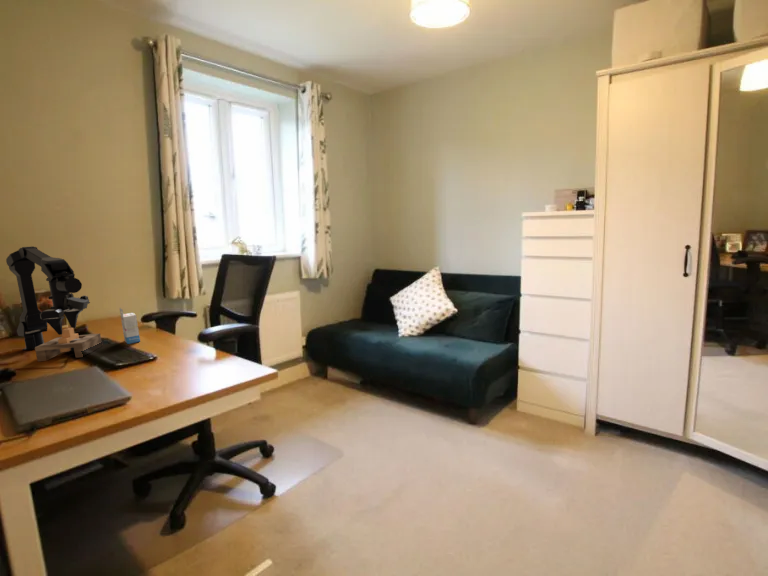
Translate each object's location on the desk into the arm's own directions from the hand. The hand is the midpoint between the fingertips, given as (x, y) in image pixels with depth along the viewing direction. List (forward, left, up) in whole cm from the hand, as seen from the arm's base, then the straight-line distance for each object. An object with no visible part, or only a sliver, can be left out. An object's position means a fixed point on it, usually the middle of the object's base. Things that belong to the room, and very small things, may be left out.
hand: (67, 331), depth 163 cm
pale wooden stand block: (0, 0, -7) cm, 7 cm away
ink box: (-11, +18, -9) cm, 23 cm away
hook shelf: (0, 0, -9) cm, 9 cm away
